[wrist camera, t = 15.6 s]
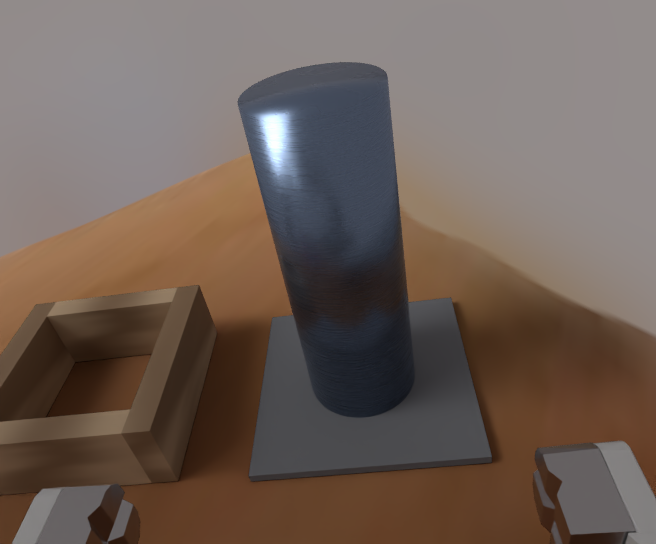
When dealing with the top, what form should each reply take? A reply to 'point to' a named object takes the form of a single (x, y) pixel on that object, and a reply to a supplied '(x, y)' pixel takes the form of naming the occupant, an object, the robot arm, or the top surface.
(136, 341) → the oak collar
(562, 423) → the top surface
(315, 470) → the charcoal mat
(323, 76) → the tall blue steel cylinder
